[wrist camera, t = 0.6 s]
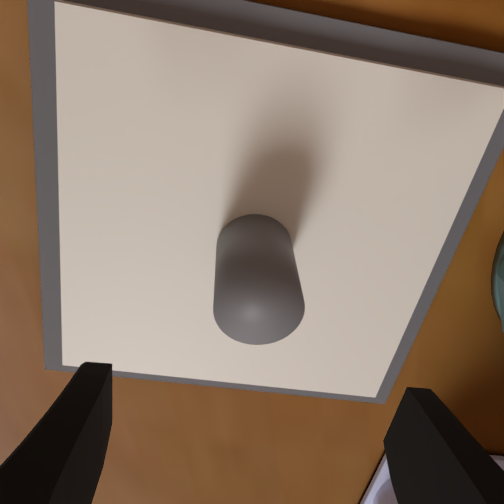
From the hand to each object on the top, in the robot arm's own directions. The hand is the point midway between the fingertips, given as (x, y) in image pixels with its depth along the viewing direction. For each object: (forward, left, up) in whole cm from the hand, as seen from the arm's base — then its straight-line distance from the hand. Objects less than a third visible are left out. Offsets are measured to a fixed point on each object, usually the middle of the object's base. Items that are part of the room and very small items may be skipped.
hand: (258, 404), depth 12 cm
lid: (0, 0, -9) cm, 9 cm away
